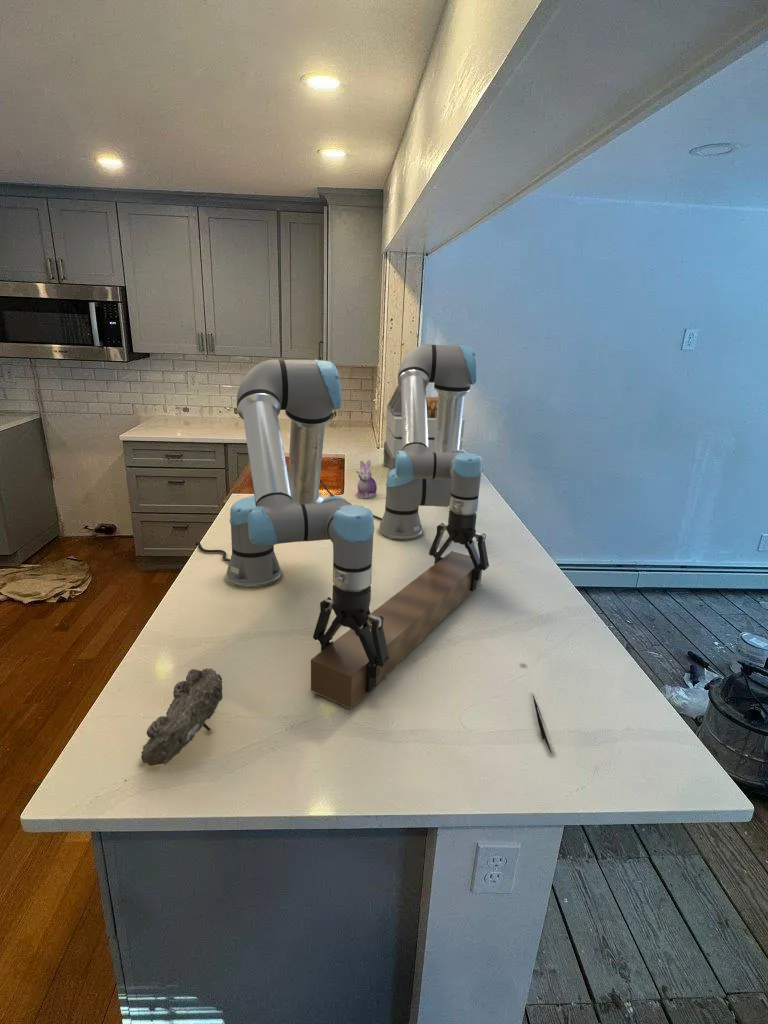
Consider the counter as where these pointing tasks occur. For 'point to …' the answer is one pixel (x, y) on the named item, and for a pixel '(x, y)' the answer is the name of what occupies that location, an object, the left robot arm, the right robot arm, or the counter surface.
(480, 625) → the counter surface
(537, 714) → the feather
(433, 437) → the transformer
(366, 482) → the figurine
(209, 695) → the fossil
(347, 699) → the thick board
